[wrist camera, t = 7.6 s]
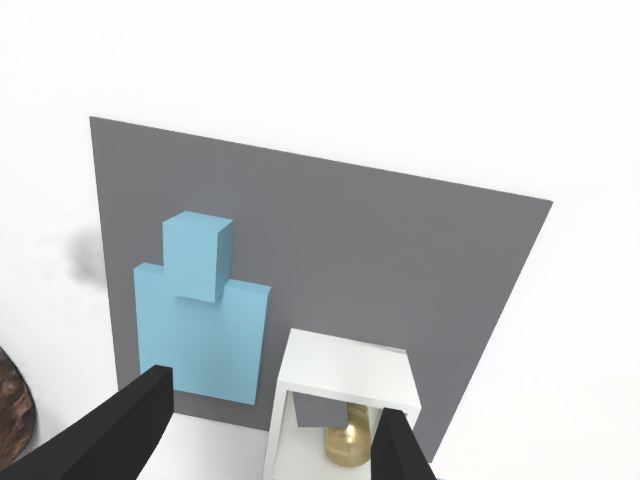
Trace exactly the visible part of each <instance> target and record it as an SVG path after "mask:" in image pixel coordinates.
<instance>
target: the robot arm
mask: <svg viewBox="0 0 640 480" xmlns="http://www.w3.org/2000/svg"><path fill="white" fill-rule="evenodd" d="M173 413H174V391H173V368H172V367H166V366H161V365H156V364H155V365H154V366H152V367H151V368H149V369H148V370H147V371H145V372H144V373H143V374H141V375H140V376H139V377H137V378H136V379H135V380H133V381H132V382H131V383H129V384H128V385H127V386H125V387H124V388H123V389H121V390H120V391H119V392H117V393H116V394H115V395H113V396H112V397H110V398H109V399H108V400H106V401H105V402H104V403H102V404H101V405H99V406H98V407H97V408H95V409H94V410H92V411H91V412H90V413H88V414H87V415H85V416H84V417H83V418H81V419H80V420H78V421H77V422H76V423H74V424H73V425H71V426H70V427H68V428H67V429H65V430H64V431H62V432H61V433H59V434H58V435H56V436H55V437H53V438H52V439H50V440H49V441H47V442H46V443H44V444H43V445H41V446H40V447H38V448H37V449H35V450H34V451H32V452H30V453H29V454H27V455H26V456H24V457H23V458H21V459H19V460H18V461H16V462H15V463H13V464H11V465H10V466H8V467H6V468H5V469H3V470H1V471H0V480H136V479H137V477H138V476H139V474H140V472H141V471H142V469H143V468H144V466H145V464H146V463H147V461H148V459H149V458H150V456H151V455H152V453H153V451H154V450H155V448H156V446H157V445H158V443H159V441H160V439H161V437H162V435H163V433H164V431H165V429H166V427H167V425H168V423H169V421H170V419H171V417H172V415H173ZM371 480H437V479H436V477H435V475H434V473H433V472H432V470H431V468H430V466H429V464H428V462H427V460H426V458H425V456H424V454H423V452H422V450H421V448H420V446H419V444H418V442H417V440H416V438H415V436H414V433H413V431H412V429H411V427H410V425H409V423H408V421H407V418H406V416H405V414H404V412H403V411H402V410H397V409H392V408H386V407H384V408H383V411H382V414H381V417H380V421H379V424H378V427H377V430H376V433H375V436H374V439H373V442H372V445H371Z"/></svg>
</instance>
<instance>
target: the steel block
mask: <svg viewBox="0 0 640 480" xmlns="http://www.w3.org/2000/svg"><path fill="white" fill-rule="evenodd" d="M292 394H293V400H294V406H295V412H296V418H297V424H298V427H329V428H349V427H348V402H346V401H341V400H335V399H330V398H325V397H320V396H315V395H310V394H305V393H300V392H294V391H292Z"/></svg>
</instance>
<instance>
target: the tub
mask: <svg viewBox="0 0 640 480" xmlns="http://www.w3.org/2000/svg"><path fill="white" fill-rule="evenodd" d="M292 391H294V392H300V393H305V394H310V395H315V396H320V397H325V398H330V399H335V400H341V401H346V402H351V403H356V404H361V405H366V406H367V407H368V413H369V425H370V437H371V445H372V442H373V439H374V436H375V433H376V430H377V427H378V424H379V421H380V417H381V414H382V411H383V408H384V407H386V408H392V409H397V410H402V411H403V412H404V414H405V416H406V418H407V421H408V423H409V425H410V427H411V429H412V430H413V428H414V425H415V423H416V420H417V418H418V415H419V413H420V411H421V404H420V400H419V397H418V393H417V389H416V386H415V382H414V379H413V375H412V371H411V368H410V364H409V361H408V357H407V353H406V350H403V349H397V348H392V347H387V346H382V345H377V344H371V343H366V342H361V341H356V340H351V339H345V338H340V337H335V336H330V335H324V334H319V333H314V332H309V331H304V330H298V329H293V328H291V331H290V335H289V338H288V342H287V346H286V350H285V353H284V357H283V361H282V364H281V368H280V372H279V375H278V379H277V385H276V392H275V398H274V405H273V411H272V418H271V424H270V431H269V437H268V444H267V450H266V457H265V463H264V469H263V476H262V480H371V458H370V460H369V461H368V462H367V463H365V464H364V465H361V466H358V467H343V466H339V465H337V464H335V463H333V462H332V461H331V460H330V459H329V458H328V457H327V455H326V450H325V449H326V432H327V427H298V424H297V418H296V412H295V406H294V400H293V394H292Z"/></svg>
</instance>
